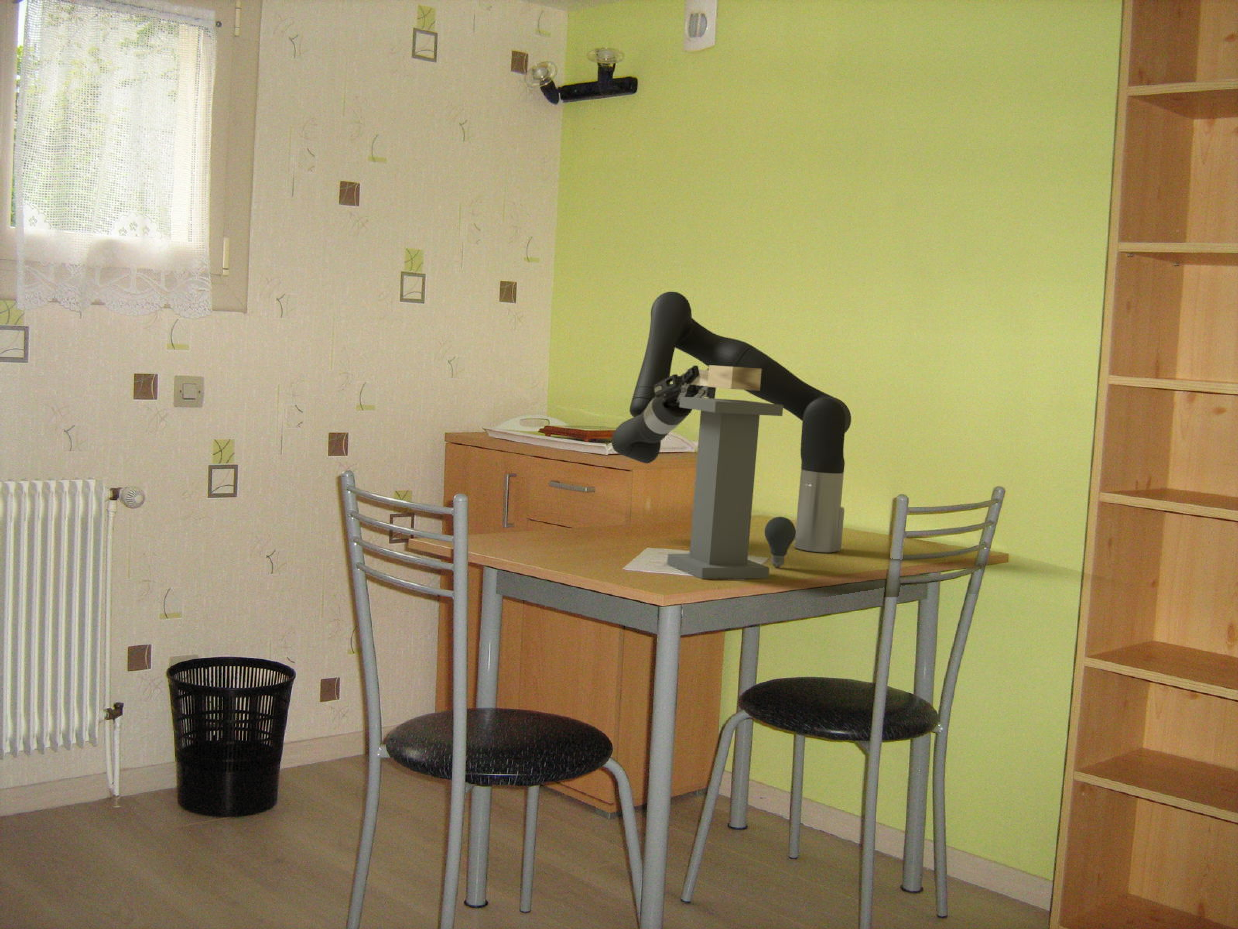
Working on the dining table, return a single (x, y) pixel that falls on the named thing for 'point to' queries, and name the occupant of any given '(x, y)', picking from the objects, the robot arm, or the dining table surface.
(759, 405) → the charcoal pedestal
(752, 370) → the beech lever bar
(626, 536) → the dining table surface
